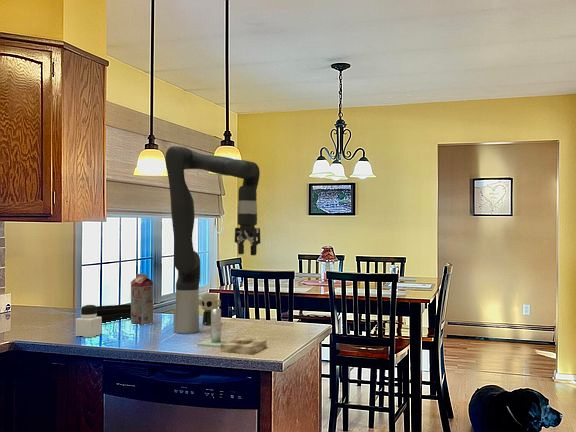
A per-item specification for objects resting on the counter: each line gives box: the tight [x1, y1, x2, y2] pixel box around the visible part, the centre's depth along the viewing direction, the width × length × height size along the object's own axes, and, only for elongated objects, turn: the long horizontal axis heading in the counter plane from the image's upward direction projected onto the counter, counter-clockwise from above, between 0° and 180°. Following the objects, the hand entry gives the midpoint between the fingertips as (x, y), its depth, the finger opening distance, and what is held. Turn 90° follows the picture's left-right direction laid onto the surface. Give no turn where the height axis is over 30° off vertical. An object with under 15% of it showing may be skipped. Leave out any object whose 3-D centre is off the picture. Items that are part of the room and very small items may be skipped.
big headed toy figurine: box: [199, 293, 222, 325], centre depth 252 cm, size 11×7×13 cm, turn 66°
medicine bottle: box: [75, 304, 103, 338], centre depth 228 cm, size 7×7×12 cm
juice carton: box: [130, 273, 154, 325], centre depth 253 cm, size 7×7×22 cm
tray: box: [96, 303, 131, 323], centre depth 267 cm, size 30×23×5 cm
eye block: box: [220, 337, 268, 355], centre depth 202 cm, size 12×12×2 cm
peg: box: [210, 307, 222, 343], centre depth 212 cm, size 4×4×12 cm
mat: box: [196, 337, 231, 348], centre depth 212 cm, size 10×10×1 cm
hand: (247, 254), depth 223 cm, fingers open, 8 cm apart
